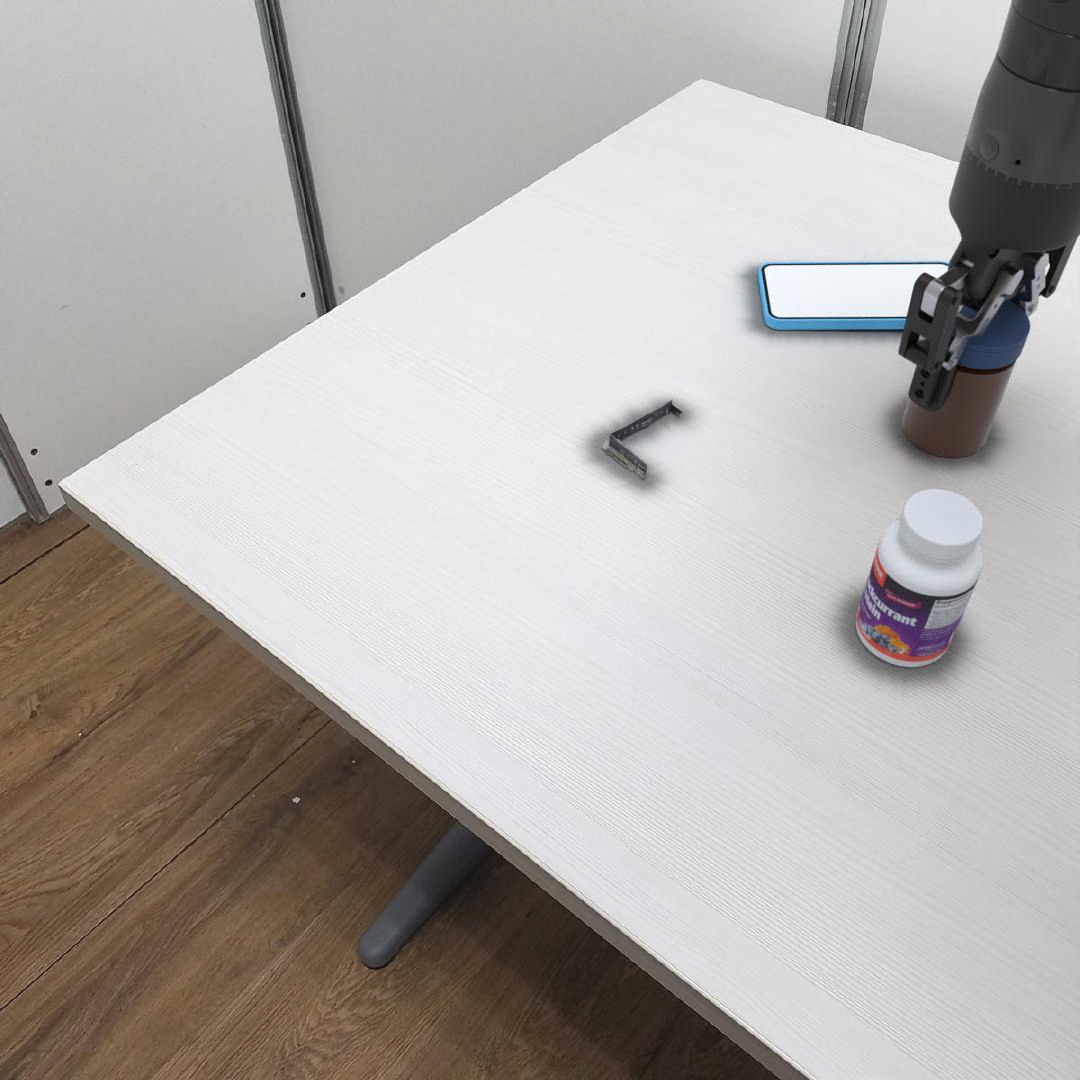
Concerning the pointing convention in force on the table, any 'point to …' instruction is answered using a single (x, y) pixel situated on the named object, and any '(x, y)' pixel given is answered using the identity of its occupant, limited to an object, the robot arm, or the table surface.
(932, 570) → the pill bottle
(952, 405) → the jar
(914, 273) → the smartphone
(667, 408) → the bent metal strip
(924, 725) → the table surface
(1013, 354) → the jar lid
